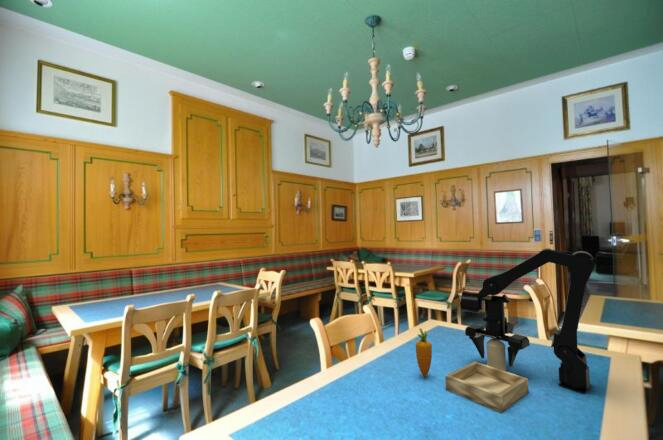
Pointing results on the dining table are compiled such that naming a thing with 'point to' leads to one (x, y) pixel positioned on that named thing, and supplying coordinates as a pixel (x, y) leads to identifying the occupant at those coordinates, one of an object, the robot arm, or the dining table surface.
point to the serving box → (487, 385)
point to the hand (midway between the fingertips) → (496, 362)
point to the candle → (496, 354)
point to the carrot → (423, 353)
